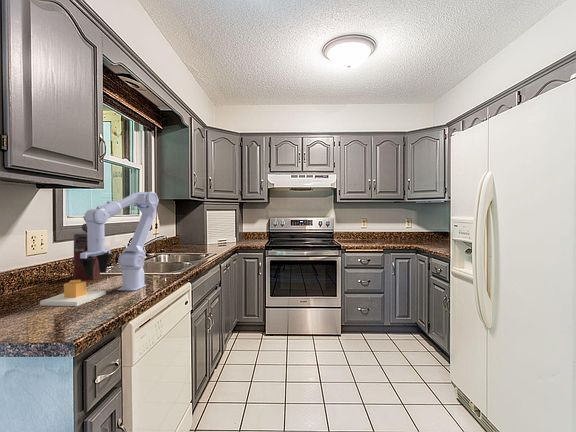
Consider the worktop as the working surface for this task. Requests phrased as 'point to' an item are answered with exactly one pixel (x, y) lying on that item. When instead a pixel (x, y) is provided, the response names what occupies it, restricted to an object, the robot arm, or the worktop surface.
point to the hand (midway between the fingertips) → (96, 274)
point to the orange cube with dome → (75, 288)
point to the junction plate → (72, 299)
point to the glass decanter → (79, 247)
